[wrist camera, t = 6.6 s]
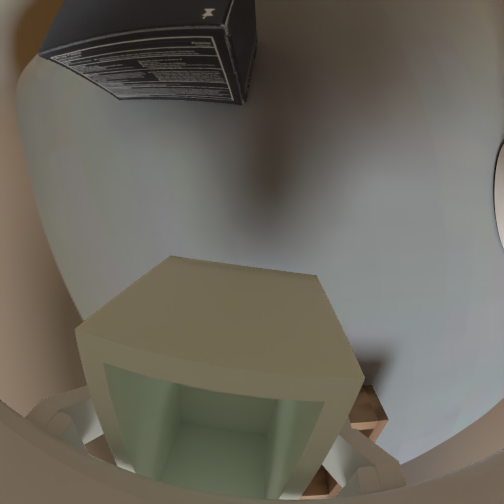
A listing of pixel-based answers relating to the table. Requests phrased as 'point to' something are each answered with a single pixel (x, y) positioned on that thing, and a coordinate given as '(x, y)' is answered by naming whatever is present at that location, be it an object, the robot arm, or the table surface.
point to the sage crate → (220, 377)
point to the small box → (158, 47)
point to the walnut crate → (362, 418)
